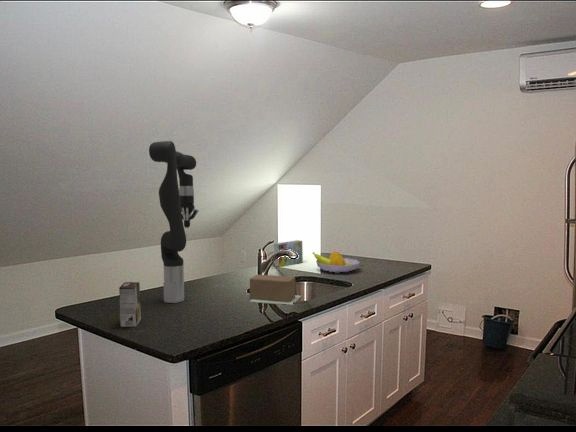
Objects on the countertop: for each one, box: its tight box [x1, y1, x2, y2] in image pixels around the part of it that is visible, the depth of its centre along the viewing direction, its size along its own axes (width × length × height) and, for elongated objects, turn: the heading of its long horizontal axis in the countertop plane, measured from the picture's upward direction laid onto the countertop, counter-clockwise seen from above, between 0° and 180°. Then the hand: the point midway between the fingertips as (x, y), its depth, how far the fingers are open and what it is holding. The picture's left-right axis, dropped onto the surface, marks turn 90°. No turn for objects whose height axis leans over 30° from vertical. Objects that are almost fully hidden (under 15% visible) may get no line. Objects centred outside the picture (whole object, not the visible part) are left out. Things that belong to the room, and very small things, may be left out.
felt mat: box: [248, 294, 302, 306], centre depth 236 cm, size 16×21×1 cm
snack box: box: [273, 239, 304, 268], centre depth 322 cm, size 21×6×15 cm, turn 133°
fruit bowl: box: [312, 251, 360, 274], centre depth 302 cm, size 28×27×11 cm
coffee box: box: [118, 281, 142, 328], centre depth 199 cm, size 9×6×16 cm
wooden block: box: [249, 274, 296, 302], centre depth 236 cm, size 10×10×20 cm
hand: (187, 227), depth 258 cm, fingers closed
